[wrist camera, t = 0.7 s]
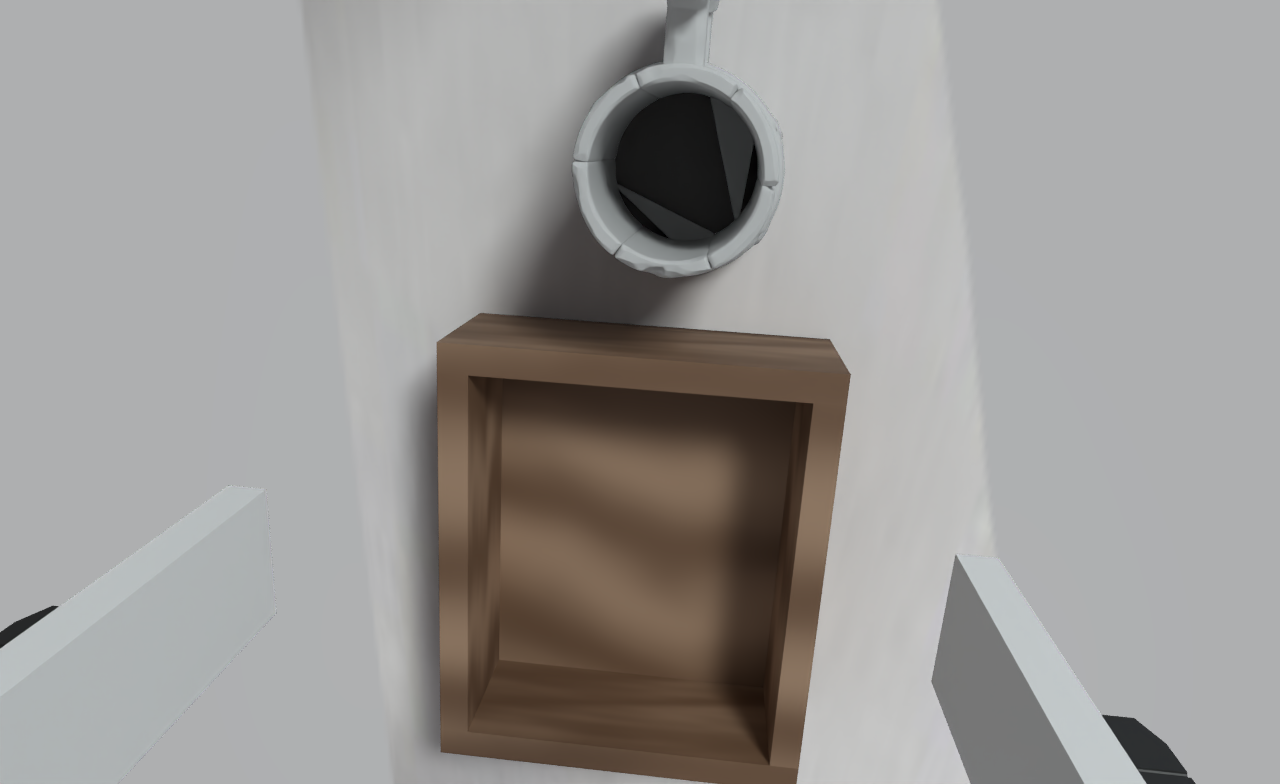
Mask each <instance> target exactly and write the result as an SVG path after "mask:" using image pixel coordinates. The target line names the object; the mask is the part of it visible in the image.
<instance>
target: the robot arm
mask: <svg viewBox="0 0 1280 784" xmlns="http://www.w3.org/2000/svg"><path fill="white" fill-rule="evenodd" d="M275 601H276V600H275V589H274V576H273V564H272V553H271V540H270V527H269V516H268V502H267V490H266V489H261V488H251V487H240V486H230V485H228V486H227V487H226V488H224V489H223V490H221V491H220V492H219V493H217V494H216V495H215V496H213V497H212V498H210V499H209V500H207V501H206V502H205V503H203V504H202V505H201V506H199V507H198V508H196V509H195V510H193V511H192V512H191V513H190V514H188V515H186V516H185V517H184V518H182V519H181V520H179V521H178V522H177V523H175V524H174V525H172V526H171V527H170V528H169V529H167V530H166V531H164V532H163V533H161V534H160V535H158V536H157V537H156V538H154V539H153V540H152V541H150V542H149V543H147V544H146V545H145V546H143V547H142V548H140V549H139V550H138V551H136V552H135V553H133V554H132V555H131V556H129V557H128V558H126V559H125V560H124V561H122V562H121V563H119V564H118V565H117V566H115V567H114V568H112V569H111V570H110V571H108V572H107V573H106V574H104V575H103V576H101V577H100V578H98V579H97V580H96V581H94V582H93V583H91V584H90V585H89V586H87V587H86V588H84V589H83V590H82V591H80V592H79V593H78V594H76V595H75V596H73V597H72V598H70V599H69V600H68V601H66V602H65V603H63V604H62V605H61V606H51V607H49V608H46V609H44V610H42V611H39V612H37V613H35V614H33V615H30V616H28V617H26V618H23V619H21V620H19V621H16V622H14V623H13V624H12V625H10V626H9V627H7V628H6V629H4V630H3V631H1V632H0V784H118V783H119V782H120V781H121V780H122V779H123V778H124V777H125V776H126V775H127V774H128V773H129V771H131V769H132V768H133V767H134V766H135V765H136V764H137V763H138V762H139V761H140V760H141V759H142V757H143V756H144V755H145V754H146V753H147V752H148V751H149V750H150V749H151V748H152V747H153V745H155V744H156V743H157V741H158V740H159V739H160V738H161V737H162V736H163V735H164V734H165V733H166V732H167V731H168V729H169V728H170V727H171V726H172V725H173V724H174V723H175V722H176V721H177V719H179V718H180V717H181V716H182V714H183V713H184V712H185V711H186V710H187V709H188V708H189V707H190V706H191V705H192V704H193V703H194V701H195V700H196V699H197V698H198V697H199V696H200V695H201V694H202V693H203V692H204V691H205V690H206V689H207V687H208V686H209V685H210V684H211V683H212V682H213V681H214V680H215V679H216V678H217V677H218V676H219V675H220V673H221V672H222V671H223V670H224V669H225V668H226V667H227V666H228V665H229V664H230V663H231V662H232V661H233V659H234V658H235V657H236V656H237V655H238V654H239V653H240V652H241V651H242V650H243V649H244V647H245V646H246V645H247V644H248V643H249V642H250V641H251V640H252V639H253V638H254V637H255V636H256V635H257V634H258V632H259V631H260V630H261V629H262V628H263V627H264V626H265V625H266V624H267V623H268V622H269V620H271V618H272V617H273V616H274V615H275V614H276V613H277V612H276V602H275ZM931 682H932V684H933V687H934V689H935V692H936V695H937V697H938V700H939V702H940V705H941V708H942V710H943V713H944V715H945V718H946V721H947V723H948V726H949V728H950V731H951V734H952V736H953V739H954V741H955V744H956V747H957V749H958V752H959V754H960V757H961V760H962V762H963V765H964V767H965V770H966V773H967V775H968V778H969V780H970V783H971V784H1195V782H1194V781H1193V780H1192V778H1188V777H1187V771H1186V770H1185V769H1184V767H1183V766H1182V765H1181V763H1180V762H1179V761H1178V759H1177V758H1176V756H1175V755H1174V754H1173V752H1172V751H1171V750H1170V749H1169V747H1168V746H1167V744H1166V743H1164V742H1163V741H1162V740H1161V739H1159V738H1158V737H1157V736H1156V735H1154V734H1153V733H1152V732H1151V731H1149V730H1148V729H1147V728H1146V727H1144V726H1143V725H1142V724H1141V723H1139V722H1138V721H1137V720H1136V719H1134V718H1127V717H1118V716H1108V715H1101V714H1100V712H1099V710H1098V709H1097V707H1096V706H1095V704H1094V703H1093V701H1092V700H1091V698H1090V697H1089V695H1088V694H1087V692H1086V691H1085V689H1084V688H1083V686H1082V684H1081V683H1080V682H1079V680H1078V678H1077V677H1076V675H1075V674H1074V672H1073V671H1072V669H1071V668H1070V666H1069V665H1068V663H1067V662H1066V660H1065V659H1064V657H1063V655H1062V654H1061V653H1060V651H1059V649H1058V648H1057V646H1056V645H1055V643H1054V642H1053V640H1052V639H1051V637H1050V636H1049V634H1048V633H1047V631H1046V630H1045V628H1044V627H1043V625H1042V623H1041V622H1040V620H1039V619H1038V617H1037V616H1036V614H1035V613H1034V611H1033V610H1032V608H1031V607H1030V605H1029V604H1028V602H1027V601H1026V599H1025V597H1024V596H1023V594H1022V593H1021V591H1020V590H1019V588H1018V587H1017V585H1016V584H1015V582H1014V581H1013V579H1012V578H1011V576H1010V575H1009V573H1008V571H1007V570H1006V569H1005V567H1004V565H1003V564H1002V562H1001V561H1000V559H999V558H995V557H984V556H973V555H963V554H956V555H955V561H954V566H953V571H952V576H951V582H950V587H949V592H948V597H947V603H946V608H945V613H944V618H943V624H942V629H941V634H940V639H939V645H938V650H937V655H936V660H935V666H934V671H933V676H932V681H931Z"/></svg>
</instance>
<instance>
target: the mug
mask: <svg viewBox="0 0 1280 784" xmlns="http://www.w3.org/2000/svg"><path fill="white" fill-rule="evenodd" d="M718 5H719V0H667V16H666V30H665V43H664V55H663V62H658V63H654V64H651V65H648V66H645V67H642V68H640V69H638V70H636V71H634V72H632V73H630V74H628V75H627V76H625V77H624V78H622V79H621V80H619V81H618V82H617V83H616V84H614V85H613V86H612V87H611V88H610V89H609V90H607V91H606V92H605V93H604V94H603V95H602V96H601V97H600V98H599V99H598V100H597V101H596V102H595V103H594V104H593V106H592V107H591V109H590V112H589V113H588V115H587V117H586V119H585V121H584V122H583V125H582V127H581V129H580V132H579V134H578V137H577V140H576V144H575V148H574V153H573V158H574V159H575V161H574V162H573V164H572V176H573V184H574V189H575V193H576V197H577V201H578V204H579V208H580V211H581V214H582V216H583V218H584V221H585V223H586V225H587V226H588V228H589V230H590V231H591V233H592V235H593V236H594V238H595V239H596V240H597V241H598V242H599V244H600V245H601V246H602V247H603V248H604V249H605V250H606V251H607V252H609V253H610V254H615V258H616V259H618V260H619V261H620V262H622V263H624V264H626V265H628V266H629V267H631V268H634V269H636V270H639V271H644V272H649V273H652V274H655V275H657V276H658V277H662V278H675V277H684V276H693V275H699V274H703V273H706V272H709V271H712V270H714V269H717V268H719V267H722V266H724V265H727V264H729V263H731V262H732V261H734V260H735V259H737V258H738V257H740V256H741V255H742V254H743V253H745V252H746V251H747V250H749V249H750V248H751V247H752V246H753V245H756V244H758V243H759V242H760V240H761V239H762V238H763V236H764V235H765V233H766V232H767V230H768V227H769V225H770V222H771V220H772V218H773V216H774V213H775V211H776V209H777V206H778V203H779V200H780V197H781V193H782V189H783V183H784V172H785V162H784V151H783V142H782V138H783V135H782V132H781V129H780V127H779V124H778V121H777V120H776V119H775V118H774V116H773V115H772V113H771V112H770V111H769V110H768V108H767V106H766V105H765V103H764V102H763V101H762V99H761V98H760V97H759V96H758V95H757V94H756V92H755V91H754V90H753V89H752V88H751V87H749V86H748V85H747V84H746V83H745V82H744V81H742V80H741V79H740V78H738V77H737V76H735V75H733V74H732V73H730V72H728V71H726V70H724V69H722V68H719V67H717V66H714V65H712V64H710V63H708V62H709V51H710V39H711V28H712V18H713V12H714V11H716V10H717V8H718ZM679 93H695V94H702V95H706V96H709V97H710V99H711V104H712V109H713V114H714V119H715V124H716V129H717V134H718V139H719V144H720V149H721V154H722V159H723V164H724V169H725V174H726V179H727V184H728V189H729V194H730V199H731V204H732V209H733V214H734V219H735V221H734V222H733V223H731V224H730V225H729V226H728V227H726V228H725V229H723V230H721V231H719V232H717V233H716V234H714V233H712V232H711V231H709V230H707V229H705V228H703V227H701V226H699V225H697V224H695V223H693V222H691V221H689V220H687V219H685V218H683V217H681V216H679V215H677V214H675V213H673V212H671V211H670V210H668V209H666V208H664V207H662V206H660V205H658V204H656V203H654V202H652V201H650V200H648V199H646V198H644V197H642V196H640V195H638V194H636V193H634V192H632V191H630V190H629V189H627V188H625V187H623V186H621V185H619V184H617V181H616V161H615V158H616V156H617V151H618V146H619V143H620V140H621V137H622V135H623V133H624V131H625V130H626V128H627V126H628V125H629V123H630V122H631V121H632V119H633V118H634V117H635V116H636V115H637V114H638V113H639V112H640V111H641V110H642V109H644V108H645V107H646V106H648V105H649V104H651V103H653V102H655V101H656V100H657V99H658V98H664V97H667V96H670V95H673V94H679ZM754 144H755V148H756V152H757V160H758V172H757V176H758V179H757V181H756V184H755V188H754V191H753V194H752V196H751V198H750V200H749V202H748V204H747V206H746V207H745V209H744V210H743V212H742V213H741V214H740V212H741V207H742V201H743V196H744V191H745V186H746V181H747V176H748V171H749V166H750V160H751V155H752V150H753V145H754ZM618 189H619V190H620V191H621V192H622V193H623V194H624V195H625V196H626V197H627V198H628V199H629V200H630V201H631V202H632V203H633V204H634V205H635V206H636V207H638V208H639V209H640V210H641V211H642V212H643V213H644V214H645V215H646V216H647V217H648V218H649V219H650V220H651V221H652V222H653V223H654V224H655V225H656V226H657V227H658V228H659V229H660V230H661V231H662V232H663V233H664V234H665V235H667V236H668V237H669V238H670V239H669V238H665V237H662V236H660V235H658V234H656V233H654V232H652V231H650V230H649V229H648V228H646V227H642V224H641V223H640V222H639V221H638V220H637V219H635V218H634V217H633V215H632V214H631V213H630V212H629V210H628V209H627V207H626V206H625V204H624V202H623V200H622V198H621V195H620V193H619V190H618Z"/></svg>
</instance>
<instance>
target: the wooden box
mask: <svg viewBox="0 0 1280 784" xmlns="http://www.w3.org/2000/svg"><path fill="white" fill-rule="evenodd" d="M850 375H851V374H850V373H849V371H848V369H847V368H846V366H845V364H844V363H843V361H842V359H841V358H840V356H839V354H838V352H837V351H836V349H835V347H834V346H833V344H832V342H831V341H830V339H817V338H803V337H790V336H777V335H764V334H750V333H737V332H724V331H711V330H697V329H684V328H671V327H658V326H645V325H631V324H618V323H605V322H592V321H578V320H565V319H552V318H539V317H525V316H512V315H499V314H486V313H480V314H478V315H477V316H475V317H474V318H472V319H471V320H469V321H468V322H466V323H465V324H463V325H462V326H460V327H459V328H457V329H456V330H454V331H453V332H451V333H450V334H448V335H447V336H445V337H444V338H442V339H441V340H439V341H438V342H437V416H438V518H439V619H440V721H441V752H444V753H453V754H461V755H470V756H479V757H488V758H496V759H505V760H514V761H523V762H532V763H540V764H549V765H558V766H567V767H576V768H584V769H593V770H602V771H611V772H620V773H628V774H637V775H646V776H655V777H663V778H672V779H681V780H690V781H699V782H707V783H716V784H796V783H797V775H798V768H799V760H800V753H801V745H802V738H803V730H804V722H805V715H806V707H807V700H808V692H809V685H810V677H811V670H812V662H813V655H814V647H815V639H816V632H817V624H818V617H819V609H820V602H821V594H822V587H823V579H824V572H825V564H826V556H827V549H828V541H829V534H830V526H831V519H832V511H833V504H834V496H835V489H836V481H837V474H838V466H839V458H840V451H841V443H842V436H843V428H844V421H845V413H846V406H847V398H848V391H849V383H850Z"/></svg>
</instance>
